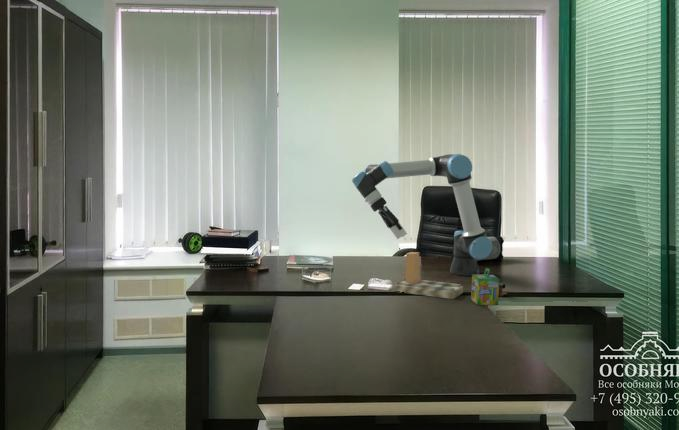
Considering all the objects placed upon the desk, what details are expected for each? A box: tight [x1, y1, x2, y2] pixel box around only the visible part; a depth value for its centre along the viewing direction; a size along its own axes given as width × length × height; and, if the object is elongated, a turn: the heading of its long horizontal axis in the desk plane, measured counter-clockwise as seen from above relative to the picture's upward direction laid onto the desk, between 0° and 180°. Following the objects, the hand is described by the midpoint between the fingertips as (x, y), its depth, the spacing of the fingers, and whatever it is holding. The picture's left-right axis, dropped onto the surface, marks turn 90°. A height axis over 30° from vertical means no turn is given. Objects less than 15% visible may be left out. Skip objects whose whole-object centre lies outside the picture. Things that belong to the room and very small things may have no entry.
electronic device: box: [498, 278, 508, 298], centre depth 260 cm, size 4×10×8 cm, turn 45°
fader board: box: [394, 277, 464, 300], centre depth 265 cm, size 28×13×4 cm, turn 61°
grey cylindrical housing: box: [451, 233, 505, 262], centre depth 344 cm, size 15×28×15 cm, turn 117°
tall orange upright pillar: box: [405, 251, 420, 284], centre depth 268 cm, size 4×6×14 cm, turn 151°
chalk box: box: [470, 267, 500, 306], centre depth 245 cm, size 9×9×15 cm
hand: (402, 236), depth 277 cm, fingers open, 13 cm apart
